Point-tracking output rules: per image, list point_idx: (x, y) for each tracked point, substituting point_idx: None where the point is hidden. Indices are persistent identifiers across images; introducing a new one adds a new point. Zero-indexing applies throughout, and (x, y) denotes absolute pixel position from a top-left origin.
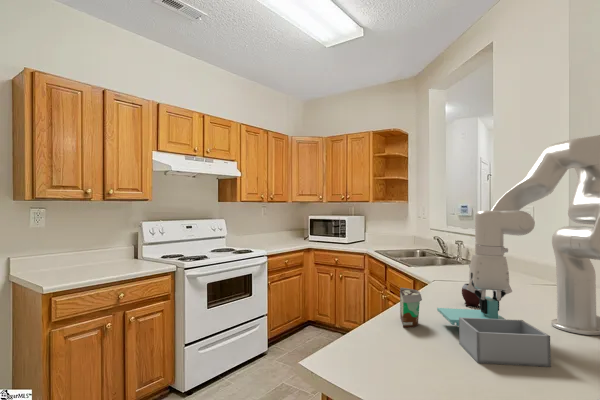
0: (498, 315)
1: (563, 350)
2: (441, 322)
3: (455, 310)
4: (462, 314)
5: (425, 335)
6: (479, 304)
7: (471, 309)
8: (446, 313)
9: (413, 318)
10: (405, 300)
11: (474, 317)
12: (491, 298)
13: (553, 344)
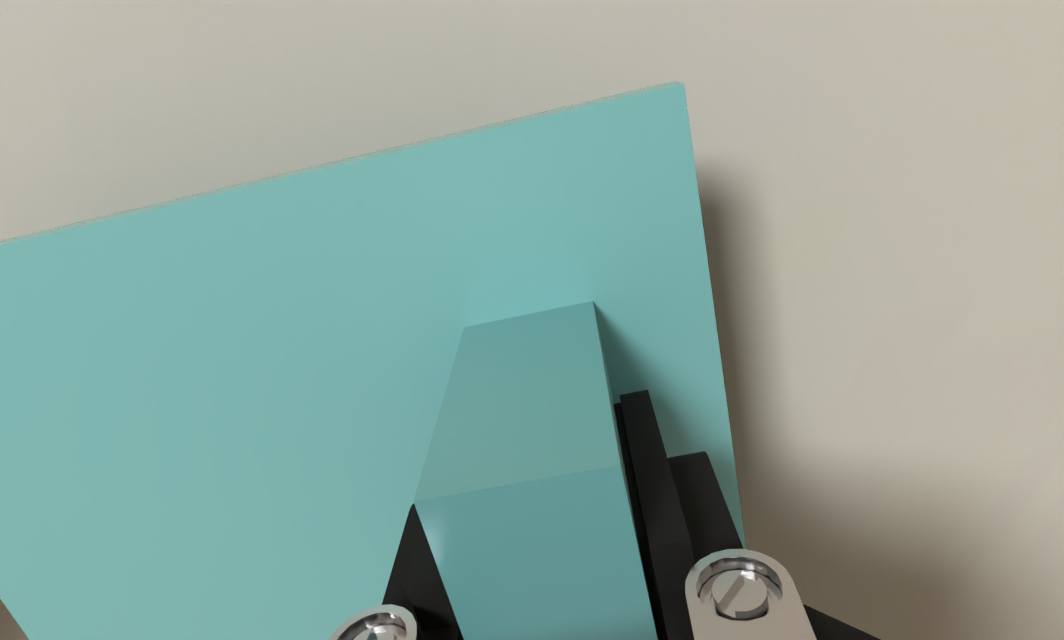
0: (705, 396)
1: (1042, 635)
2: (30, 203)
3: (85, 350)
4: (206, 526)
5: (8, 634)
6: (401, 547)
7: (325, 176)
8: (8, 552)
9: None
10: None
11: (354, 602)
12: (630, 632)
13: (1052, 533)
